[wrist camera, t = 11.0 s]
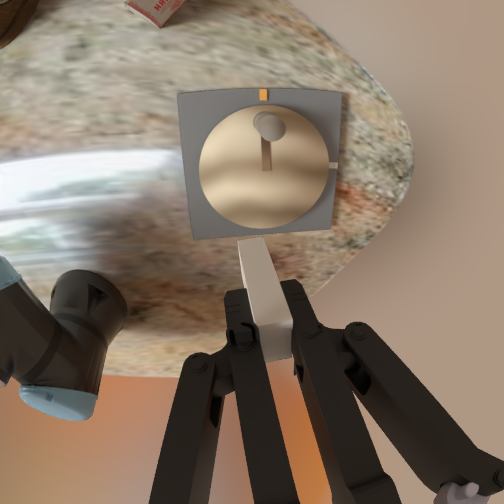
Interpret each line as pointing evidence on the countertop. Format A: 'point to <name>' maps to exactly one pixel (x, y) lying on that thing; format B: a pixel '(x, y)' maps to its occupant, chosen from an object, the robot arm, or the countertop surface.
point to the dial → (263, 166)
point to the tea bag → (154, 9)
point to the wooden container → (14, 18)
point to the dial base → (228, 101)
